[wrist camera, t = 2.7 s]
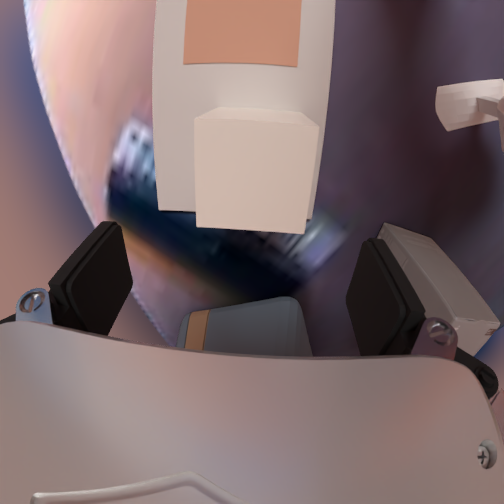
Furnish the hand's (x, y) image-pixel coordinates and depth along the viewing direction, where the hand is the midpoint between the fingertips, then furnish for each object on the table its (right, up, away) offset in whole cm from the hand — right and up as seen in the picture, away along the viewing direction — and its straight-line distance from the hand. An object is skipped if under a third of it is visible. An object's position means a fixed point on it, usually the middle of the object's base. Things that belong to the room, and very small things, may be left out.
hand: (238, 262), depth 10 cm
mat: (-1, +15, +11) cm, 19 cm away
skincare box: (+18, +1, +20) cm, 27 cm away
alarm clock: (+1, -12, +30) cm, 32 cm away
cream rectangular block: (+1, +10, +14) cm, 17 cm away
